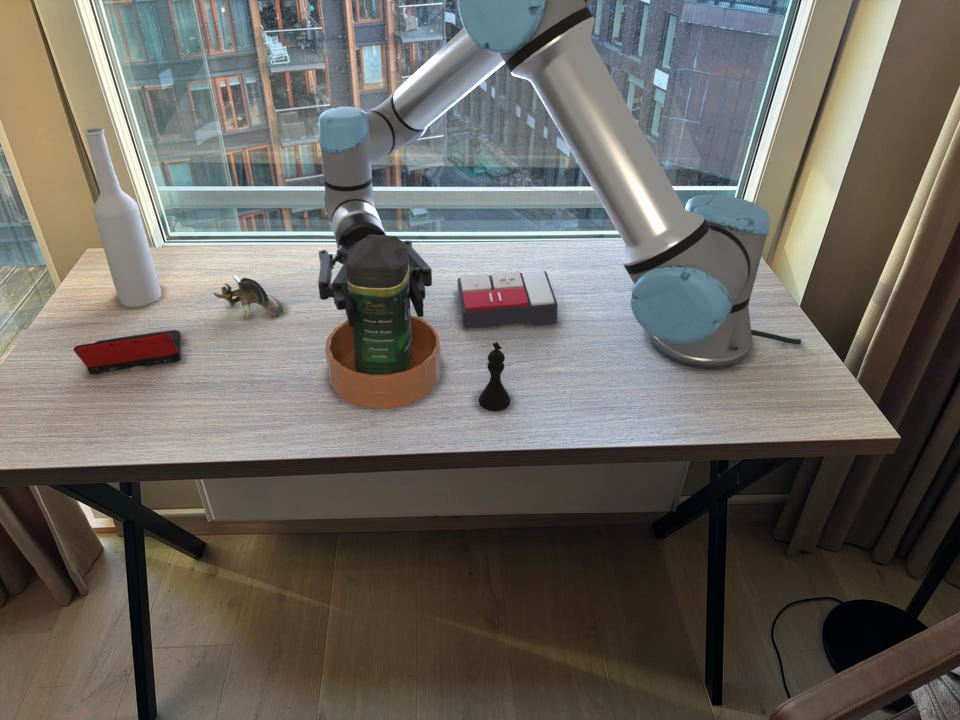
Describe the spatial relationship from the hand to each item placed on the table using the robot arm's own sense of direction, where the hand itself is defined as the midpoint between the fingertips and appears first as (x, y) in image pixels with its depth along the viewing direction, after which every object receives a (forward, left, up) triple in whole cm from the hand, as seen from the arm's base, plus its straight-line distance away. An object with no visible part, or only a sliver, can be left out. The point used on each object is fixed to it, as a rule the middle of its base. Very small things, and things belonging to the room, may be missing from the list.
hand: (386, 313), depth 100 cm
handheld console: (+38, +3, -14) cm, 41 cm away
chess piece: (-14, -2, -14) cm, 20 cm away
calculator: (-11, -26, -14) cm, 31 cm away
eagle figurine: (+28, -14, -14) cm, 34 cm away
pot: (+2, -4, -13) cm, 14 cm away
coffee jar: (+2, -4, -11) cm, 12 cm away
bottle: (+48, -13, -14) cm, 52 cm away
